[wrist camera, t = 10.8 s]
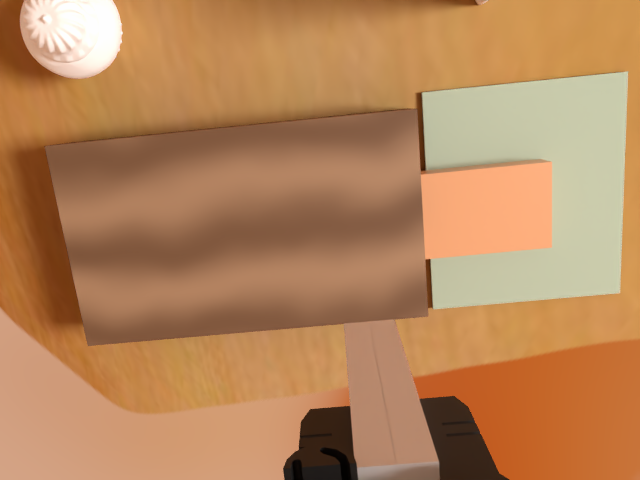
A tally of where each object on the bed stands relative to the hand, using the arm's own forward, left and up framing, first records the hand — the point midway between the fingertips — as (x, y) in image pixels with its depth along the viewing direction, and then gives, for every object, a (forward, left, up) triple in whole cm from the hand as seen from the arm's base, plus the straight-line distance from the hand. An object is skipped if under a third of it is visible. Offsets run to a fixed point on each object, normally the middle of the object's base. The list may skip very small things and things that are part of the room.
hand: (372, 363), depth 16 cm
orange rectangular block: (+1, +10, -24) cm, 26 cm away
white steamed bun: (-14, -16, -24) cm, 32 cm away
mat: (0, +13, -24) cm, 27 cm away
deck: (0, -7, -24) cm, 25 cm away
